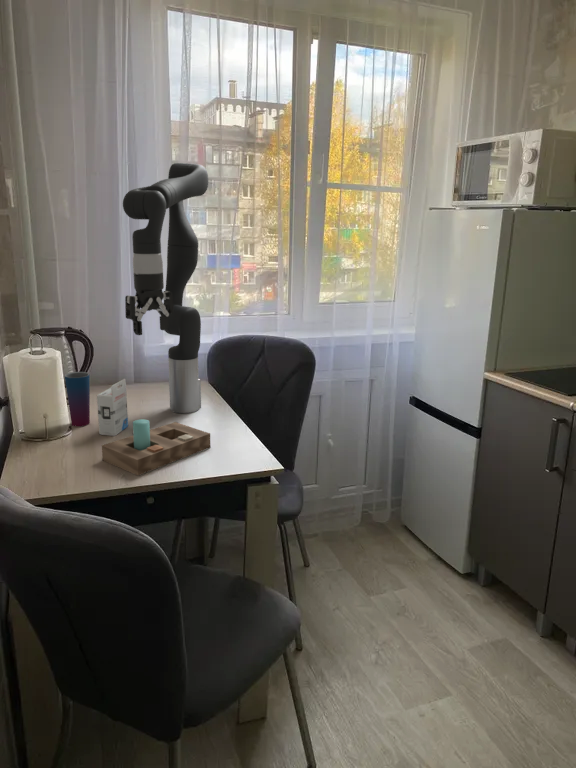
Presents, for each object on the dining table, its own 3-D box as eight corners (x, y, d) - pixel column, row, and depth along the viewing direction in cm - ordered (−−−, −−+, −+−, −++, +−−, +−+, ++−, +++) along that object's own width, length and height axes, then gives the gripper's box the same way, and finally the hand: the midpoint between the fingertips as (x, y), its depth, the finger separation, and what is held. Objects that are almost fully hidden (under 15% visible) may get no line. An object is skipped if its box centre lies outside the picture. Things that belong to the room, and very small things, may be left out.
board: (175, 435, 163) (175, 420, 162) (210, 447, 155) (210, 431, 154) (102, 460, 145) (101, 443, 144) (138, 475, 137) (137, 457, 136)
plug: (144, 455, 149) (142, 418, 146) (154, 459, 147) (152, 421, 144) (131, 459, 146) (129, 422, 143) (141, 463, 144) (139, 425, 141)
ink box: (113, 425, 170) (110, 376, 166) (128, 426, 169) (126, 378, 166) (98, 434, 162) (95, 384, 158) (114, 436, 161) (111, 385, 157)
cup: (70, 428, 166) (66, 378, 162) (66, 421, 172) (63, 373, 168) (94, 425, 169) (91, 376, 165) (90, 418, 175) (87, 371, 171)
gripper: (159, 268, 158) (162, 327, 162) (116, 271, 147) (120, 334, 151) (178, 270, 153) (180, 330, 158) (135, 274, 142) (139, 338, 147)
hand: (151, 332), depth 155 cm, fingers open, 8 cm apart
